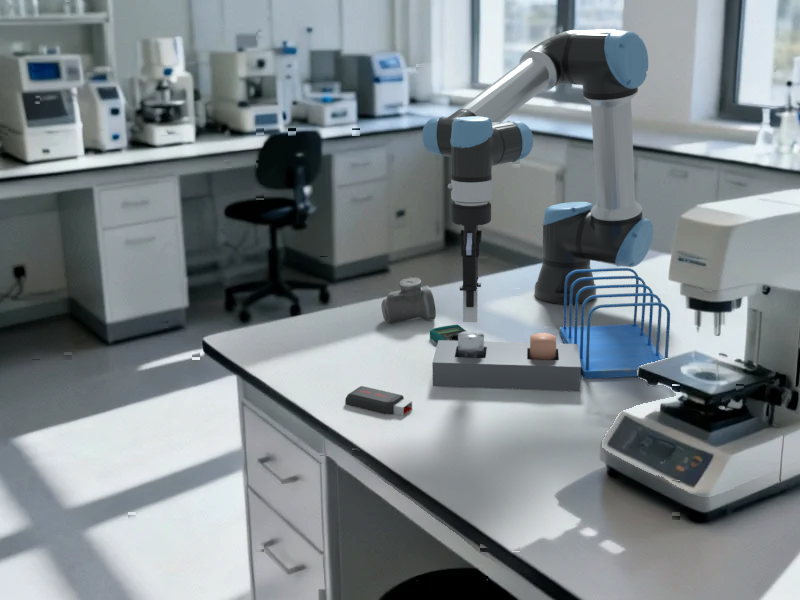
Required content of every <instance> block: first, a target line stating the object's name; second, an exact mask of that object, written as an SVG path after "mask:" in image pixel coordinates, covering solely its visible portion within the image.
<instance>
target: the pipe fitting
mask: <svg viewBox="0 0 800 600" xmlns="http://www.w3.org/2000/svg"><path fill="white" fill-rule="evenodd" d="M399 288H400V289H399V290H396V291H390V292H389V293H388V294H387V297H386V298H384V299H383V300H382V302H381V312H382V318H383V319H384V322H385V323H387V324H388V325H391V324H396V323H400V322H405V321H409V320H415V319H419V318H420V319H422V320H424V321H433V320H436V318H437V316H436V315H437V310H436V304H435V299H434V294H433V292H432V289H431V287H430V286H429V285H423V286H422V280H421V278H419V277H412V276H411V277H406V278H403V279H401V280H400V281H399Z"/></svg>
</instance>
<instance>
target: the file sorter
mask: <svg viewBox="0 0 800 600" xmlns="http://www.w3.org/2000/svg"><path fill="white" fill-rule="evenodd" d="M627 271H628V272H631V273H633V274H634V275H613V276H612V275H611V276H610V275H609V276H606V275H605V276H593V277H583V278H579V279H577V280H575V281H574V282H573V284H572V285H571V288H570V304H567V282H568V279H569V277H570V276H571V275H572V274H574V273H579V272H592V273H596V272H627ZM623 279H624V280H627V279H628V280H629V279H631V280H632V279H633V280H635V284H634V283H633V284H632V283H627V284H605V285H604V284H601V285H598V284H597V285H596V286H586V287H583V288H582V289H580V290H579V291H578V293H577V295H576V299H575V304H574V325H573V326H572V323H573V321H572V319H573V304H572V297H573V288H574V286H575V284H576V283H578V282H580V281H583V280H594V281H601V280H603V281H604V280H623ZM639 282H641V283H639ZM621 288H635V292H633V293H628V292H627V293H609V294H608V293H603V294H596V295H592V296H589V297H588V298H586V299H585V301H584V302H583V303H581V304H582V305H581V309H580V311H581V312H580V315H581V316H580V325H578V321H579V320H578V315H579V313H578V312H579V304H578V298H579V295H580V294H581V292H583V291H584V290H587V289H596V290H598V289H599V290H600V289H621ZM639 288H643V290H642V292H639ZM647 291H648V292H647ZM624 297H625V298H626V297H630V298H631V297H634V302H630V303H629V302H628V303H627V302H626V303H625V302H624V303H611V304H609V303H606V304H598V305H596V306H594V307H592V308H591V309H590V311H589V312H588V313H587V320H586V321H587V322H586V325H584V324H585V309H586V305H587V303H588V301H589V300H590V299H593V298H594V299H600V298H601V299H602V298H624ZM639 297H642V302H639V300H638V299H639ZM646 297H650V299H649V302H646ZM654 298H655V299H656V300H657V302H655V301H654ZM594 299H593V300H594ZM589 302H590V301H589ZM567 305H569V306H568V307H569V311H568V313H569V314H568V326H567V309H568V308H567ZM648 306H649V321H648V335H647V334H646V333H645V332H644V325H645V316H646V315H645V314H646V313H645V312H646V307H648ZM654 306H658V311H657V313H658V314H657V315H658V316H657V328H656V346H655V345H654V343H653V342H652V329H653V314H654V311H653V310H654ZM625 307H626V308H627V307H634V311H633V323H631V324H629V323H627V324H604V325H603V324H601V325H600V324H599V325H591V318H592V314H593V313H594V311H596V310H599V309H603V308H604V309H606V308H607V309H608V308H625ZM638 307H641V309H642V310H641V320H640V325H639V324H638V323H637V316H638ZM662 308H664V309H665V311H666V329H665V330H666V332H665V345H664V356H663V355H662V354H661V353H660V343H661V342H660V340H661V327H662V325H661V324H662V313H663V312H662V311H663V309H662ZM670 324H671V311H670V309H669V307H668V306H667V305H666V304H665V303H663V302H662V300H661V298H660V297H659V296H658V295H657V294H655V293H653V290H652V289H651V288H650V286H648V285H647V284H646V282H645V281H644V279H643V278H642V277H640V276H639V275H638V273H637V272H636V270H635V269H632V268H631V267H619V268H618V267H614V268H612V267H611V268H591V269H583V270H574V271H572V272H570V273H569V274H568V275H567V277H566V279H565V288H564V304H563V326H559V335H560V337H561V339H562V340H563V342H564V343H563V344H578V348H579V356H580V364H581V376H582V378H583V379H604V378H605V379H607V378H627V377H628V378H629V377H631V378H633V377H638V376H637V370H638V367H639V366H641V365H644V364H647V363H651V362H655V361H658V360H662V359H665V358H669V347H670V345H669V343H670V342H669V341H670V331H671V330H670V326H671V325H670Z"/></svg>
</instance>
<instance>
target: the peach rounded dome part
mask: <svg viewBox="0 0 800 600" xmlns="http://www.w3.org/2000/svg"><path fill="white" fill-rule="evenodd" d="M529 343H530V358H531V359H533V360H554V359H555V358H556V343H557V336H556V335H555V334H552V333H549V332H535V333H532V334H531V335H530V336H529Z"/></svg>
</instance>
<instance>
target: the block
mask: <svg viewBox="0 0 800 600" xmlns="http://www.w3.org/2000/svg"><path fill="white" fill-rule="evenodd" d="M434 351H435V352H434V355H433V359H432V364H431V365H432V387H436V388H437V387H441V388H444V387H445V388H465V389H466V388H467V389H468V388H469V389H494V390H495V389H498V390H499V389H501V390H502V389H503V390H522V391H523V390H525V391H527V390H529V391H530V390H531V391H553V392H555V391H556V392H557V391H559V392H580V391H581V376H582V375H581V364H580V356H579V348H578V344H565V343H558V342H556V358H555V359H554V360H533V359H531V358H530V342H520V341H519V342H517V341H515V342H513V341H487V340H486V341H484V355H483V356H482V357H481V358H464V357H460V356H459V355H458V341H450V340H438V344H437V343H436V349H435V350H434Z"/></svg>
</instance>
